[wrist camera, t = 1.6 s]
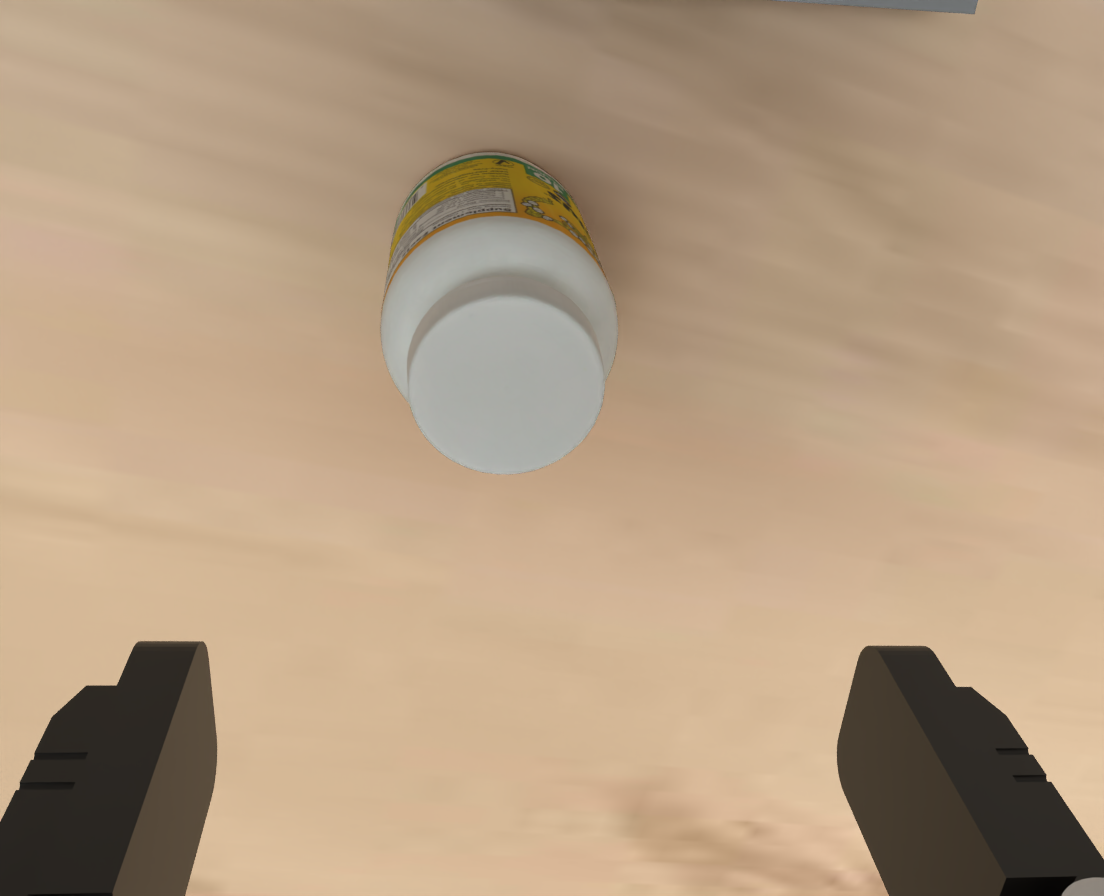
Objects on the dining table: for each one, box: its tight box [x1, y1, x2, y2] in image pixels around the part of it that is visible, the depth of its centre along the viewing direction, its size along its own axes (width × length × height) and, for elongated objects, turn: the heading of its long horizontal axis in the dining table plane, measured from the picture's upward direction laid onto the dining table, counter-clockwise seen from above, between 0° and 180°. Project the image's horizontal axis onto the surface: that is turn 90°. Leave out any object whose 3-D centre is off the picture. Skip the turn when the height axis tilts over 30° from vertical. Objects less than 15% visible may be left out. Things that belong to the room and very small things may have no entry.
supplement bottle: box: [381, 152, 618, 474], centre depth 25 cm, size 5×5×10 cm
